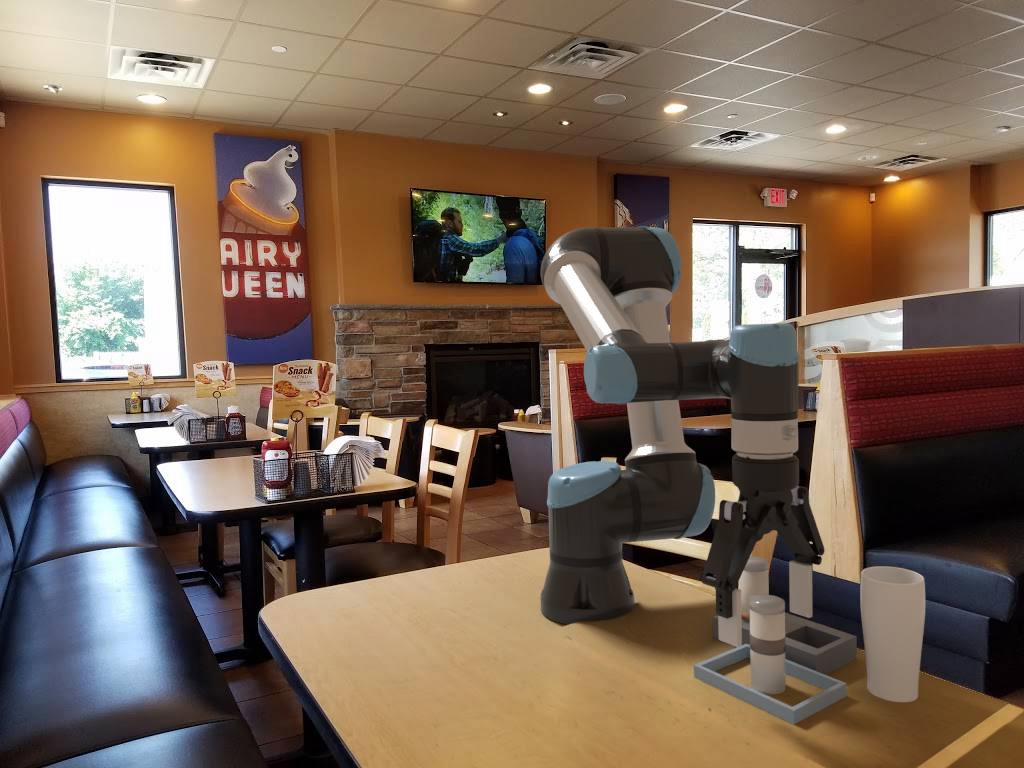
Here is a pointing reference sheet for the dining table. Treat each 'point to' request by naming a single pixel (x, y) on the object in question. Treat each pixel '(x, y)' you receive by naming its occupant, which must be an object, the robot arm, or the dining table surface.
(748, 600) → the fuse
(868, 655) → the drinking glass
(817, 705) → the parts tray
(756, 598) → the cylinder
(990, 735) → the dining table surface
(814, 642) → the fuse block
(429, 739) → the dining table surface
